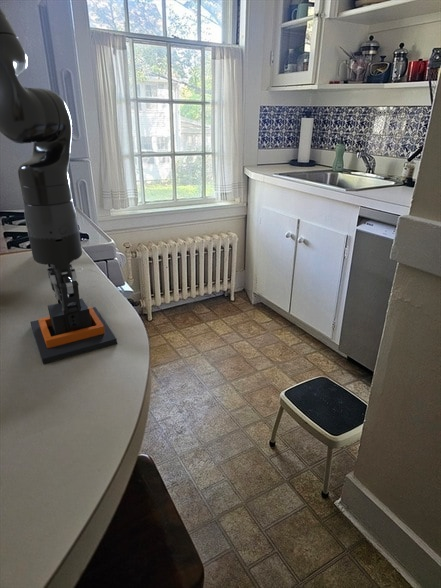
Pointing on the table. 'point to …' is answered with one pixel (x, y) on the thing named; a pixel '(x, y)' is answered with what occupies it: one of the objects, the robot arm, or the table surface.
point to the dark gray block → (59, 319)
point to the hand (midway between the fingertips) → (70, 322)
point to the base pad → (71, 338)
